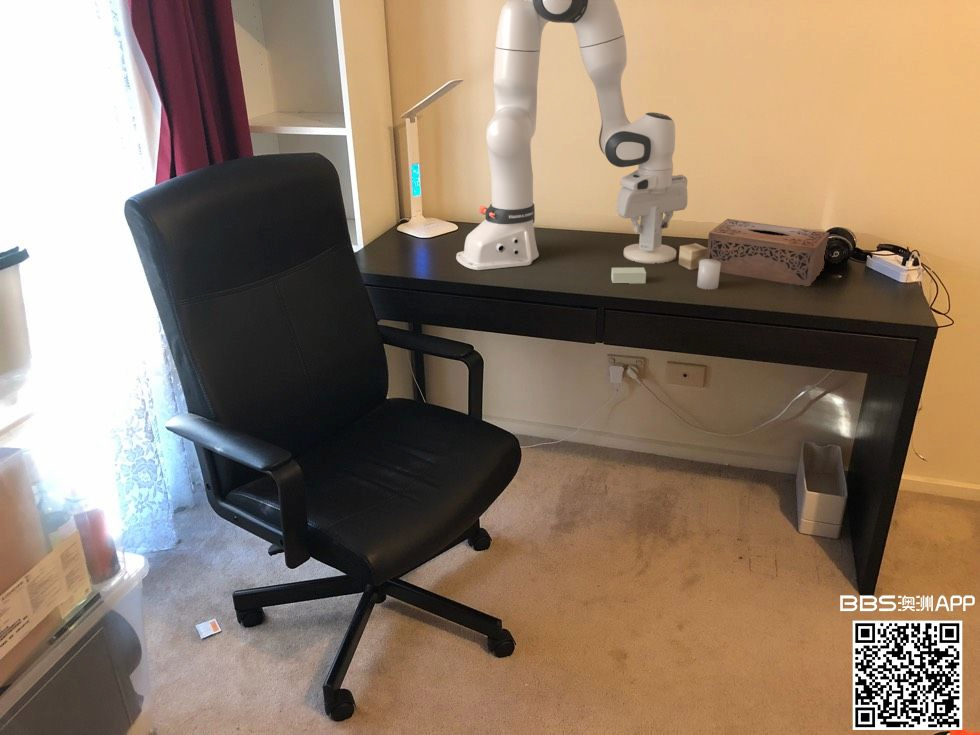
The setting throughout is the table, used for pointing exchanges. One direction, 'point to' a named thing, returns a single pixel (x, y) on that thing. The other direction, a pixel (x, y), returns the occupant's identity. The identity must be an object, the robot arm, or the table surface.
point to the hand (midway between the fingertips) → (650, 229)
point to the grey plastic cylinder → (708, 274)
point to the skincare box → (651, 229)
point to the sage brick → (628, 275)
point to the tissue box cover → (768, 251)
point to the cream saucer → (650, 254)
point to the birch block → (691, 255)
